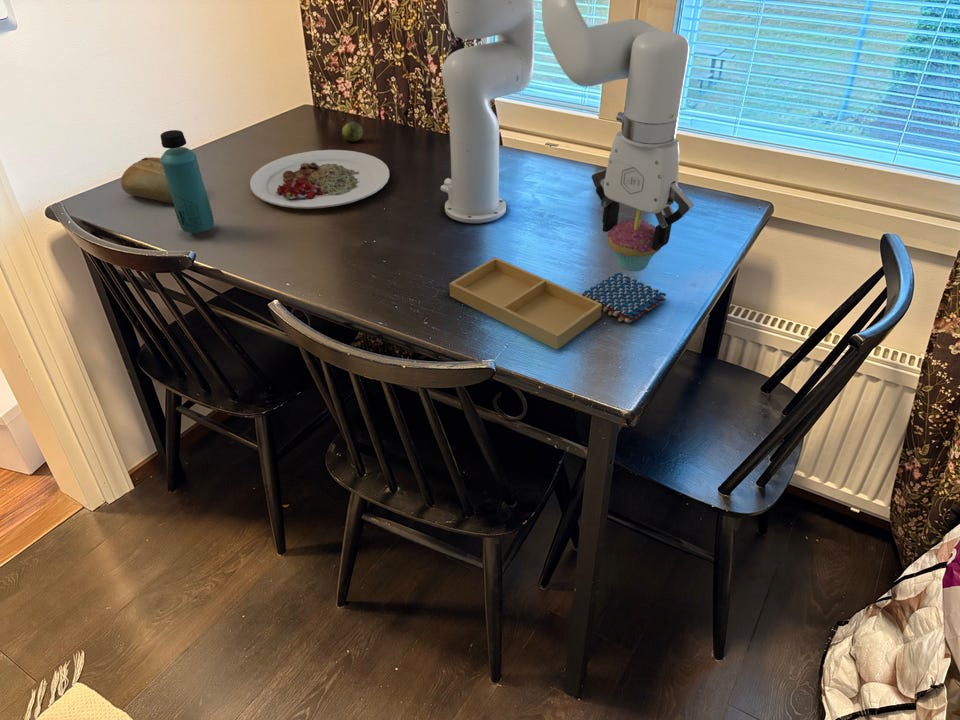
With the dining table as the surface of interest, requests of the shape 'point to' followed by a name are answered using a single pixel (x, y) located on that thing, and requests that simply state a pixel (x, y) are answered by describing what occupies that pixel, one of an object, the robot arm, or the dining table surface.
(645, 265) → the cupcake
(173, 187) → the beverage bottle
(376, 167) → the plated food
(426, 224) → the dining table surface
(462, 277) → the divided tray
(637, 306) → the woven mat
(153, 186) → the bread roll
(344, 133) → the lime
